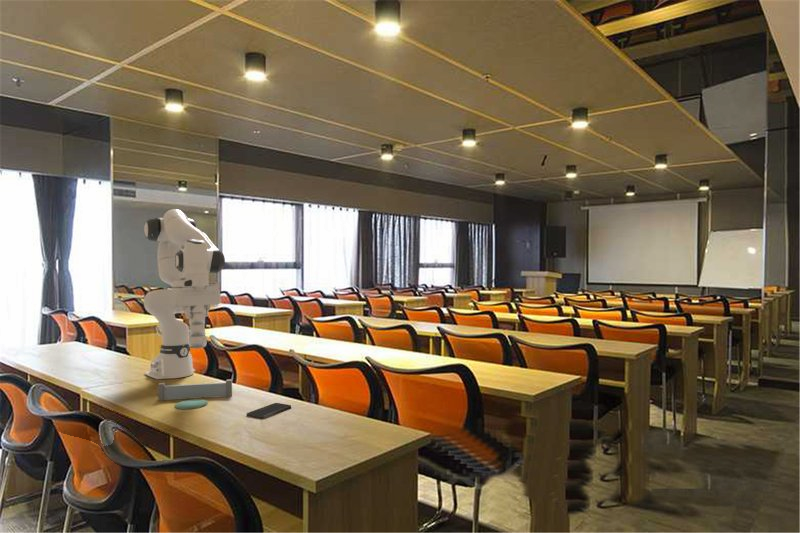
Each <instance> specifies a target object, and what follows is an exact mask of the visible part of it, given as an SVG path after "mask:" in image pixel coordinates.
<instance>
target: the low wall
mask: <svg viewBox="0 0 800 533" xmlns="http://www.w3.org/2000/svg"><path fill="white" fill-rule="evenodd" d="M217 396H222V397H232V396H233V379H229V378H228V379H226V380H225V382H212V383H210V382H209V383H191V384H174V385H172V384H171V385H166V382H159V383H158V384H157V401H166V400H167V401H168V400H169V401H170V400H184V399H185V400H186V398H188V399H200V398H202V397H205V398H216V397H217ZM217 398H218V397H217Z"/></svg>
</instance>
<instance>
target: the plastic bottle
mask: <svg viewBox="0 0 800 533" xmlns="http://www.w3.org/2000/svg"><path fill="white" fill-rule="evenodd" d="M199 301H201V300H199ZM188 311H189V313H190V314H192V318H190V319H188V320H189V321H188V323H189V340H188V344H189V347H190V349H197V350H198V349H199V350H200V349H202V348H205V347H206V346H207V343H208V339H207V335H206V328H205V327H206V326H205V324H206V317H205V314H206V309H205V307H204V305H202V304H198V305H197V306H189V309H188Z"/></svg>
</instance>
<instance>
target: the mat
mask: <svg viewBox="0 0 800 533" xmlns="http://www.w3.org/2000/svg"><path fill="white" fill-rule="evenodd" d="M207 405H208V401H207V400H205V399H188V400H184V401H180V402H177V403H175V404H174V408H175V409H178V410H194V409H199V408H204V407H206V406H207Z"/></svg>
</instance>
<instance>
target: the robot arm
mask: <svg viewBox="0 0 800 533" xmlns="http://www.w3.org/2000/svg"><path fill="white" fill-rule="evenodd" d="M143 231H144V235H145V236H146V238H147V240H148V241H151V242H158V246H157V257H156V258H157V266H158V276H159V278H160V280H161V281H162V282H163V283H165V284H167V285H169V286H171V287H172V288H167V289H165V288H163V289H156V290H151V291H148V292H147V293H146V294H145V296H144V297H143V298H144V299H143V306H144V309H145V310H146V312H148V313H149V314H151V315H152V316H153V317H154V318H155V319H156V320H157V321H158V323H159V325H160V328H161V337H162V338H161V339H162V344H161V345H160V346H159V354H158V355H156V356H155V357H154V358H153V359H152V360H151V361H150V370H147V371H145V372H144V375H145V376H148V377H150V378H153V379H154V380H165V379H166V380H167V379H179V378H184V377H185V378H186V377H190V376H191V375H193V374H194V373H195V372H196V369H195V368H194V365H193V356H192V354H191V352H190V351H191V348H190V347H189V344H188V340H189V332H190V326H189V325H188V324H187V323H185V322H184V321H182V320H179V319H177V318H176V316H175V315H176V314H185V319H187V320H189V319H190V318H192V314H190V313H189V311H188V309H189V306H197V305H198V304H202V305H204V307H205V309H206V314H205V318H206V317H209V311H210V309H211V305H219V304H220V303H221V301H222V298H221V291H220V283H218V281H216V280H209V277H210V276H209V274H218V273H219V272H221V271H222V270H223V269H224V268H225V264H226V260H225V255H224V253H223V252H222V251H221V250H220V249H219V248H218V247H217V246H215V244H214V243H213V241H212V240H211V239H210V238H209V236H208V235H207V234H206V233H205V232H203V231H202V230H200V229H198V227H197V224H196V221H195V220H194V219H192V218H189V217H188V216H187V215H186V213H185V212H183V211H182V210H180V209H177V208H172V209H169V210H168V211H166V212H165V213H164V215H163V217H151V218H149V219H147V220H146V222H145V224H144V227H143ZM182 247H183V248H182ZM199 300H201V301H199Z"/></svg>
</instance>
